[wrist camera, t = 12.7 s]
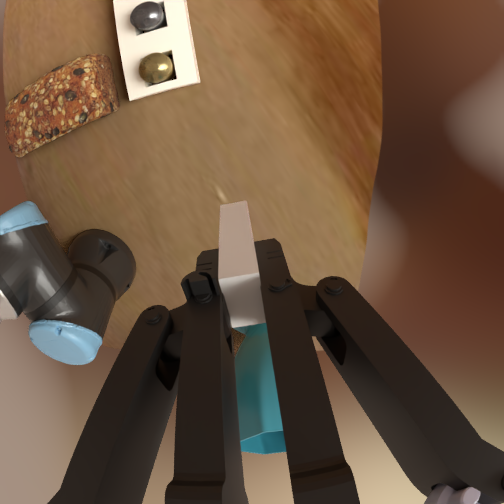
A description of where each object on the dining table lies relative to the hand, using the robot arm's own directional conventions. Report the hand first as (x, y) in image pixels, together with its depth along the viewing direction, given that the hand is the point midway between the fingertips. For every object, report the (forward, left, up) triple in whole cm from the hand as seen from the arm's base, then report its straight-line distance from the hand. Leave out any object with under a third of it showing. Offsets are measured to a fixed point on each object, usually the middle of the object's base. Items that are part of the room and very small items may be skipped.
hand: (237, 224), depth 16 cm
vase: (0, -40, -30) cm, 50 cm away
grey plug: (-8, +21, -29) cm, 37 cm away
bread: (-25, +14, -30) cm, 41 cm away
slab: (-8, +22, -29) cm, 37 cm away
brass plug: (-8, +13, -29) cm, 33 cm away
